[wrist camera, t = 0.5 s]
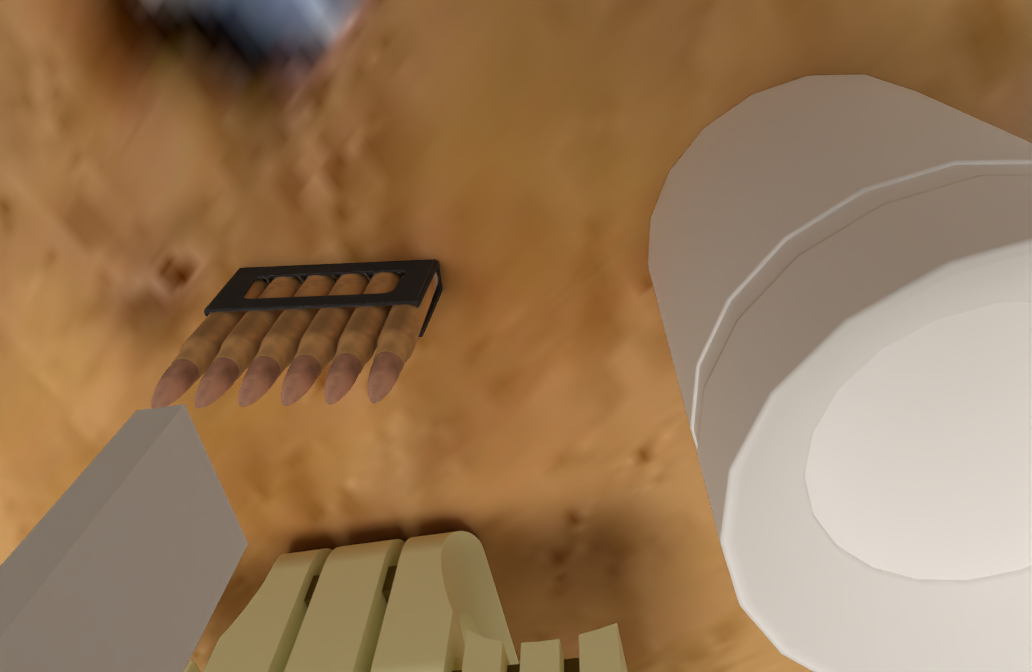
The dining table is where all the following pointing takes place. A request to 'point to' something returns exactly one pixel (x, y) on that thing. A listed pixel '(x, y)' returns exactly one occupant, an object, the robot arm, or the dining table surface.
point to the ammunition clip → (306, 330)
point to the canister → (860, 370)
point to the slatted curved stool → (392, 616)
